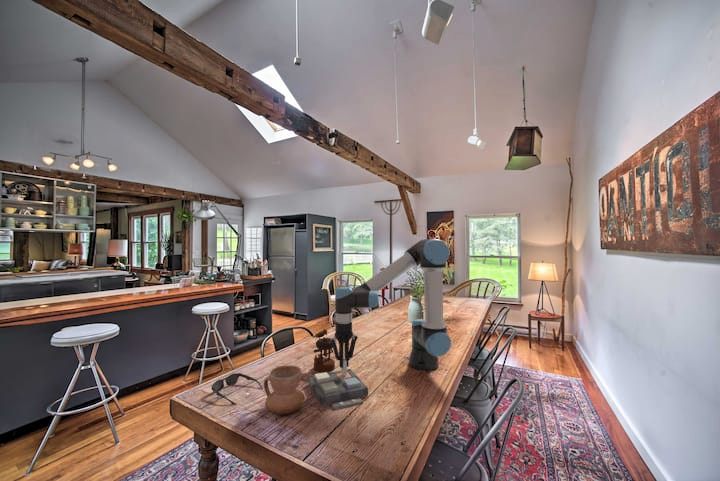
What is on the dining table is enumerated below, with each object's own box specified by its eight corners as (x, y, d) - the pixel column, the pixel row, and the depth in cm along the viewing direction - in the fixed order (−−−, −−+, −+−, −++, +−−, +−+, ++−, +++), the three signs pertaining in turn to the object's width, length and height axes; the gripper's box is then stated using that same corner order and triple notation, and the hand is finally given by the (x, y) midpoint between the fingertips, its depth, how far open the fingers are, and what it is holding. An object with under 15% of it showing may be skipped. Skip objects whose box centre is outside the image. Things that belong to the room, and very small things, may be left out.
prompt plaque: (359, 399, 119) (359, 397, 119) (362, 403, 117) (362, 400, 117) (331, 405, 115) (331, 403, 115) (333, 409, 112) (333, 407, 112)
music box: (322, 376, 140) (320, 333, 142) (307, 372, 147) (304, 331, 149) (344, 365, 152) (341, 326, 154) (328, 362, 159) (326, 324, 160)
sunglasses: (238, 380, 137) (239, 369, 137) (265, 393, 129) (266, 381, 129) (205, 396, 122) (206, 385, 122) (233, 412, 115) (234, 399, 114)
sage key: (333, 386, 124) (333, 381, 124) (337, 392, 119) (337, 387, 119) (320, 389, 122) (320, 384, 122) (324, 395, 117) (324, 390, 117)
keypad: (350, 376, 140) (350, 368, 140) (367, 396, 122) (367, 387, 122) (308, 384, 132) (308, 376, 132) (320, 406, 114) (320, 397, 114)
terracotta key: (347, 376, 137) (347, 371, 137) (351, 381, 132) (351, 376, 132) (336, 378, 135) (336, 373, 135) (340, 383, 130) (340, 378, 130)
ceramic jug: (314, 403, 117) (314, 366, 117) (292, 423, 103) (292, 382, 104) (277, 395, 124) (276, 360, 124) (252, 413, 110) (251, 374, 111)
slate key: (355, 382, 128) (355, 377, 128) (360, 388, 123) (360, 382, 123) (343, 384, 126) (343, 379, 126) (348, 390, 121) (348, 385, 121)
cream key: (326, 377, 133) (326, 372, 134) (330, 382, 128) (330, 377, 128) (314, 379, 131) (314, 374, 131) (317, 384, 126) (317, 379, 126)
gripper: (354, 318, 140) (354, 368, 140) (327, 321, 135) (327, 373, 135) (360, 322, 133) (360, 375, 133) (332, 325, 128) (332, 380, 128)
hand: (344, 374), depth 134 cm, fingers closed
